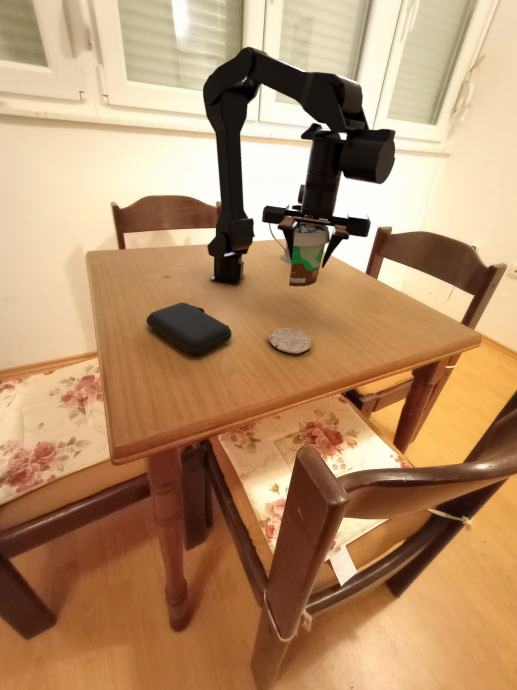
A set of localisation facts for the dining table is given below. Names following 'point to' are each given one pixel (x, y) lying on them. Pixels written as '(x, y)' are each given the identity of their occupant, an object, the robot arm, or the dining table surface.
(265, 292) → the dining table surface
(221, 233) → the robot arm
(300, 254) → the food container
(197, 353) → the carrying case
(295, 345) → the flatbread
